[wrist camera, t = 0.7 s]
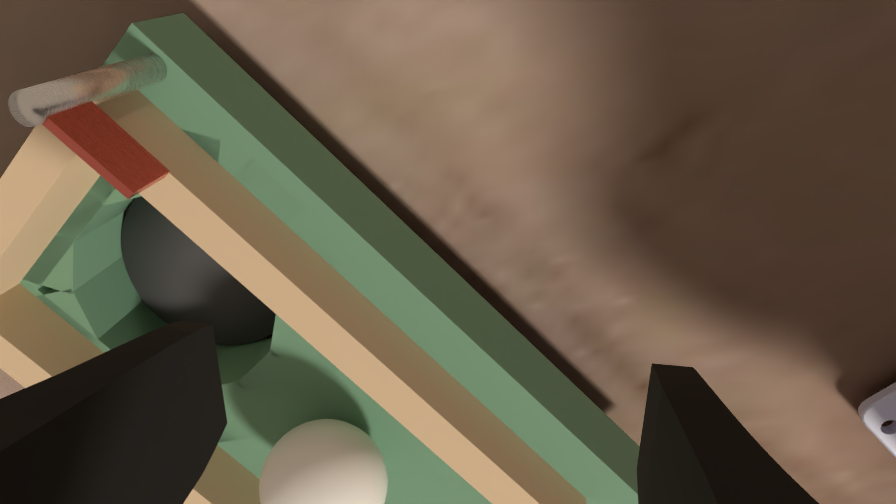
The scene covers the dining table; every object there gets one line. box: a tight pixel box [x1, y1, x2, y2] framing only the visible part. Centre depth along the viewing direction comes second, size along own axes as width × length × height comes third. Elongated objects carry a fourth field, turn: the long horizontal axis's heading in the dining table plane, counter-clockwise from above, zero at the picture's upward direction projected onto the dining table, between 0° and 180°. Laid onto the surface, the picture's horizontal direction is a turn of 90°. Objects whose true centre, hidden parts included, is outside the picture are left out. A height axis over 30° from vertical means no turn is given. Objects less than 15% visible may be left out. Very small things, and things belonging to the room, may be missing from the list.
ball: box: [259, 419, 388, 504], centre depth 19 cm, size 4×4×4 cm
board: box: [0, 13, 640, 504], centre depth 21 cm, size 19×11×5 cm, turn 46°
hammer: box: [8, 54, 170, 199], centre depth 15 cm, size 3×1×4 cm, turn 46°
